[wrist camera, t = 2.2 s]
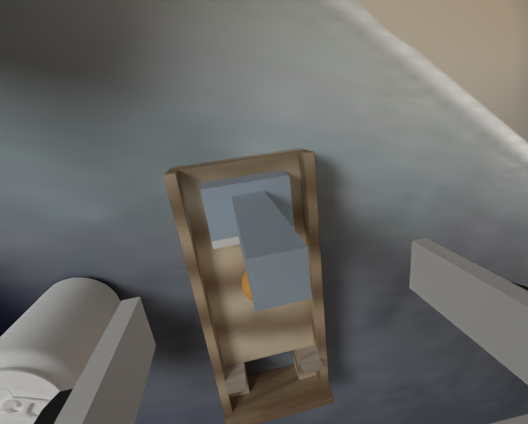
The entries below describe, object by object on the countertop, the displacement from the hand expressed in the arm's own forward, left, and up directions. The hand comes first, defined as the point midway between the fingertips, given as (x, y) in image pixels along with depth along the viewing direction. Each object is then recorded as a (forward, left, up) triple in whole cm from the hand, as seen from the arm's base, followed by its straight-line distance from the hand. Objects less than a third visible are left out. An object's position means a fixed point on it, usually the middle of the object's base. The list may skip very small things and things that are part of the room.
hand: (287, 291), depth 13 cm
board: (+12, 0, -19) cm, 22 cm away
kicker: (0, 0, -16) cm, 16 cm away
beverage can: (+10, -20, -19) cm, 29 cm away
